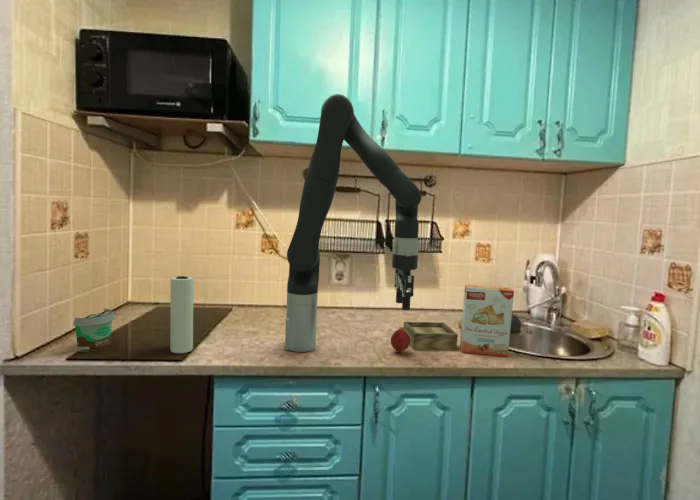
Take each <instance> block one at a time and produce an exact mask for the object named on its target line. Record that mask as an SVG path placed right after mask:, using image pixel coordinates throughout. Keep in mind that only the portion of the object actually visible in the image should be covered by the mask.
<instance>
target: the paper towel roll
mask: <svg viewBox="0 0 700 500" xmlns="http://www.w3.org/2000/svg"><path fill="white" fill-rule="evenodd" d="M169 296H170V305H169V306H170V311H169V312H170V315H169V316H170V317H169V318H170V327H169V328H170V329H169V330H170V331H169V332H170V337H169V338H170V339H169V340H170V349H169V350H170V352H171V353H173V354H186V353H188V352H191V351H193V350H194V277H192V276H188V275H187V276H185V275H177V276H173V277H170V295H169Z"/></svg>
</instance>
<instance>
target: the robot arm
mask: <svg viewBox="0 0 700 500" xmlns="http://www.w3.org/2000/svg"><path fill="white" fill-rule="evenodd" d="M319 119H320V120H319V124H318V125H319V126H318V131H317V137H316V143H315V146H314V150H313V151H312V154H311V158H310V161H309V165H308V168H307V172H306V175H305V178H304V179H305V180H304V184H303V188H302V192H301V198H300V203H299V204H300V205H299V209H298V216H297V217H298V218H297V223H296V226H295V228H294V232H293V235H292V237H291V240H290V243H289V246H288V248H287V251H286V259H287V262H288V265H289V267H288V270H289V271H288V279H287V284H286V285H287V286H286V293H287V294H286V311H285V312H286V313H285V314H286V315H285V332H284V335H285V336H284V337H285V338H284V350H285V351H291V352H298V353H306V352H311V351H314V350H315V349H316V346H317V344H316V343H317V321H318V319H317V317H318V299H319V297H318V296H319V295H318V294H319V292H318V291H319V280H320V264H321V263H320V262H321V252H320V250H321V249H320V240H321V236H322V235H321V234H322V229H323V225H324V223H325V221H326V218H327V216H328V214H329V211H330V209H331V205H332V203H333V201H334V196H335V192H336V189H337V185H338V181H339V176H340V175H339V173H340V166H341V154H342V153H341V152H342V148H343V144H344V142H345V143H347V144H348V146H349V147H350V148H351V149H352V150H353V151H354V153H355V154H357V156H358V157H359V158H360V160H361V161H362V163H363V164H364V165H365V167H367V169H368V170H369V171H370V173H372V175H373V177H375V178H376V180H377V181H378V182H379V183H380V184H381V185H382V186H383V187H385V188H386V189H387V190H388V192H389V193H390V194H391V195H392V197H393V198H394V199H395V207H394V208H395V223H394V233H393V234H394V235H393V237H394V238H393V242H392V258H391V260H392V261H391V268H392V269H395V270H394V272H395V274H394V288H395V303H396V304H401V310H403V311H409V310H410V309H411V298H412V297H414V287H415V286H414V285H415V276H414V275H412V272H411V271H415V270H417V269H418V260H419V229H420V228H419V226H420V225H419V219H418V215H419V213H418V212H419V205H420V204H421V201H422V193H421V189H419V187H418V186H417V185H416V184H415V183H414V182H413V181H412V180H411V178H409V177H408V176H407V175H406V174H405V172H403V171H402V169H401V168H400V166H399V165H398V164H397V163H396V161H395V160H394V159H393V158H392V157H391V156H390V155H389V153H388V152H386V150H385V149H384V148H383V147H382V146H380V145H379V143H377V142H376V141H375V140H374V139H373V138H372V137H371V136H370V135H369V134H368V133H367V131H366V130H365V129H364V127H363V126H362V125H361V123H360V122H359V120H358V118H357V116H356V115H355V110H354V105H353V103H352V101H351V100H350V99H349V97H347V96H345V95H344V94H342V93H334V94H332V95H329V96H328V97H327V98H326V99H325V100H324V101H323V104H322V105H321V109H320V117H319Z"/></svg>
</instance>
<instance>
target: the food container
mask: <svg viewBox="0 0 700 500" xmlns="http://www.w3.org/2000/svg"><path fill="white" fill-rule="evenodd" d="M115 319H116V318H115V314H114V312H113V310H111V309H109V308H103V311H102V312H99V313H93V314H89V315H87V316H85V317H75V318H74V319H73V323H72V325H73V326H74V327H75V328H74V329H75V336H76V346H77V351H78V350H81V351H83V350H84V351H87V350H88V351H90V350H100V349H104V348H107V347H108V348H110V346H111V338H112V337H111V335H112V327H113V326H112V324H113V321H114V320H115ZM108 348H107V349H108ZM104 350H105V349H104Z"/></svg>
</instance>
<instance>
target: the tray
mask: <svg viewBox="0 0 700 500" xmlns="http://www.w3.org/2000/svg"><path fill="white" fill-rule="evenodd" d="M403 328H404V329H403V330H404V331H405V332H406V333H407V334H408V335H409V337H410V345H409V346H410V347H411V349H412V350H417V351H418V350H420V351H421V350H423V351H425V350H426V351H427V350H431V351H432V350H434V351H435V350H436V351H437V350H438V351H439V350H440V351H441V350H442V351H443V350H444V351H447V350H449V351H456V350H457V349H458V348H457V347H458V333H457V332H455V331H454V330H453V329H452V328H451V327H450V326H448V325H447V324H446V323H445V322H442V321H441V322H440V321H438V322H437V321H403Z"/></svg>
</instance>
